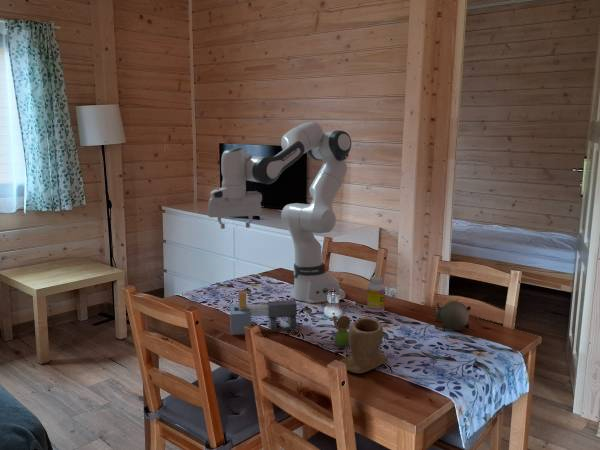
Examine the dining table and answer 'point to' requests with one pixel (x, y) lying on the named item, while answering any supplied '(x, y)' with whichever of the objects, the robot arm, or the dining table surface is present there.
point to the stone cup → (365, 346)
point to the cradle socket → (239, 319)
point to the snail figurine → (342, 330)
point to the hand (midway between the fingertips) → (235, 228)
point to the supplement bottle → (376, 295)
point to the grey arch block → (282, 313)
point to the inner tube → (252, 306)
